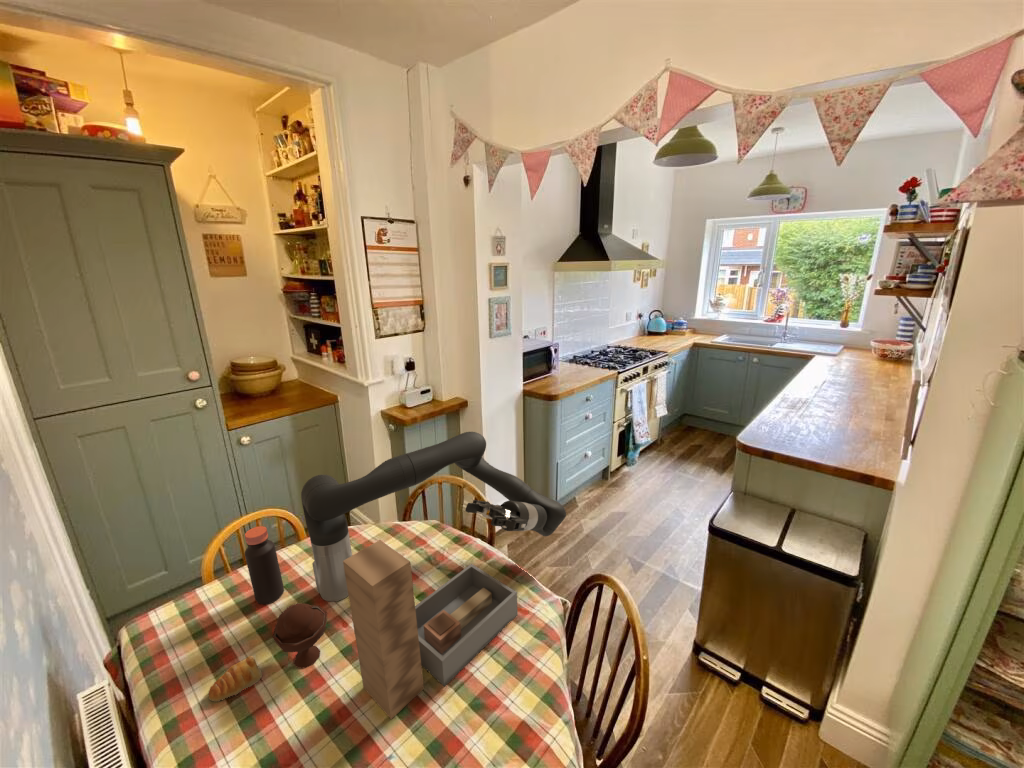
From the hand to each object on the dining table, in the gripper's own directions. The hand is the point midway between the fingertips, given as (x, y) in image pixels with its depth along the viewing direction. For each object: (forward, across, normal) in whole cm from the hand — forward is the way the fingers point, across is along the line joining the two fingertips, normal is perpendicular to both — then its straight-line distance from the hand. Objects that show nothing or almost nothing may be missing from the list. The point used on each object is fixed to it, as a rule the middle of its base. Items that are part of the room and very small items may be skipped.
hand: (479, 514), depth 101 cm
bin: (-7, 0, +28) cm, 29 cm away
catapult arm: (-7, -1, +27) cm, 28 cm away
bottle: (+15, -48, +41) cm, 65 cm away
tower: (+10, 0, +38) cm, 39 cm away
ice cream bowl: (+17, -21, +42) cm, 50 cm away
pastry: (+27, -27, +48) cm, 62 cm away
